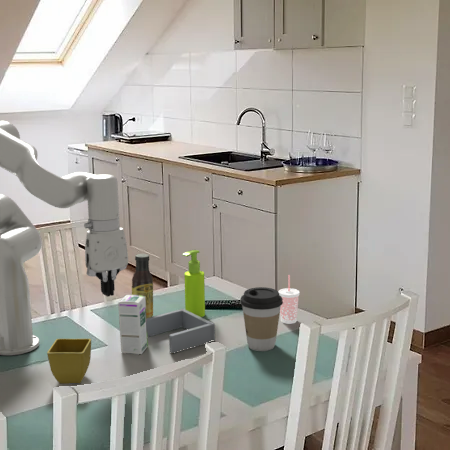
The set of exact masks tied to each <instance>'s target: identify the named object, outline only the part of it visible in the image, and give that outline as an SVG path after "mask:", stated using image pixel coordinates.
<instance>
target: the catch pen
mask: <svg viewBox="0 0 450 450" xmlns="http://www.w3.org/2000/svg"><path fill="white" fill-rule="evenodd" d="M215 326H216V325H215V323H213V322H212V321H209V320H208V319H206V318H203V317H199V316H197V315H195V314H193V313H191V312H189V311H187V310H185V308H180V309H176V310H172V311H169V312H164V313H160V314H158V315H153V316H152V317H149V318H147V336H148V338H149V337H152V336H156V335H160V334H163V333H166V332H170V331H174V330H176V328H177V329H180V328H179V327H181V328H183V327H184V329H185V328H186V329H185V330H181V331H178V332H174V333H171V334H169V335H168V338H169V339H168V341H169V342H168V343H169V345H168V346H169V353H170V352H171V353H174V352H177V351H180V350H183V349H187V348H190V347H194V346H197V347H199V346H198V345H200V346H202V345H201V344H204V343H206V342H209V341H211V340H215V341H216V339H215V338H216V336H215V335H216V334H215V333H216V332H215V331H216V328H215ZM173 329H174V330H173ZM187 329H188V330H187ZM204 345H205V344H204ZM194 348H195V347H194ZM187 350H188V349H187ZM171 353H170V354H171ZM174 354H175V353H174Z"/></svg>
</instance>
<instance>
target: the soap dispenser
mask: <svg viewBox="0 0 450 450" xmlns="http://www.w3.org/2000/svg"><path fill="white" fill-rule="evenodd" d="M199 253H200V250H199V249H198V250H197V249H192V250H191V249H190V250H188V251H186V252H183V253H182V257H183V256H184V257H189V256H190V260H188V263H187V264H188V271H185V272H184V274H183V275H184V305H185V306H184V309H185V310H187V311H189V312H191V313H193V314H195V315H197V316H199V317H202V318H203V317H205V316H206V302H205V301H206V298H205V297H206V296H205V295H206V294H205V285H206V284H205V272H204V271H202V270H201V261H200V260H198V254H199Z"/></svg>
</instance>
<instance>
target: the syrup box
mask: <svg viewBox="0 0 450 450" xmlns="http://www.w3.org/2000/svg"><path fill="white" fill-rule="evenodd" d="M117 305H118V321H119V337H120V340H119V341H120V353H121V352H122V353H121V354H126V353H136V354H135V355H139V354H141V355H143V353H144V352H145V350H146V349H147V348H148V346H149V339H148V338H149V337H148V336H147V317H146V300H145V296H141V295H132V294H125V296H124V297H122V298H121V299H120V300H119V301H118V302H117Z"/></svg>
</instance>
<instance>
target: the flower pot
mask: <svg viewBox="0 0 450 450" xmlns="http://www.w3.org/2000/svg"><path fill="white" fill-rule="evenodd" d="M46 354H47V359H48V364H49V368H50V371H51V374H52V376H53V377H54V379H55V380H56V381H57V383H59V384H62V385H65V384H69V383H79V384H81V383H82V382H83V380H84V378H85V376H86V374H87V372H88V368H89V366H90V363H91V356H92V355H91V354H92V338H56V339H55V340H54V342H53V343H52V345H51V346H50V348H49V349H48V350H47V352H46Z"/></svg>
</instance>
